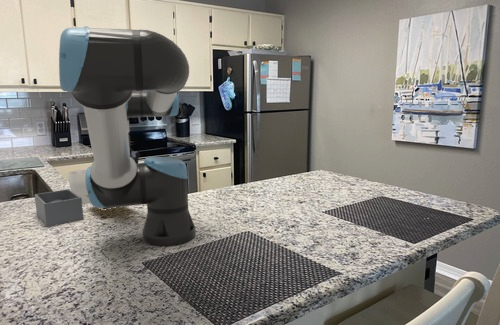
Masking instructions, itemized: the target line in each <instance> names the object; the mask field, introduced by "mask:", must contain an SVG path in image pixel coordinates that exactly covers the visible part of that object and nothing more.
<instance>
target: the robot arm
mask: <svg viewBox="0 0 500 325" xmlns="http://www.w3.org/2000/svg"><path fill="white" fill-rule="evenodd" d="M58 73H59V74H58V75H59V78H58V79H59V87H60V89H61V91H63V92H67V93H71V94H72V97H73V100H74V101H76V102H77V104H78V105H80V106H81V107H82V108H83V112H84V117H85V122H86V126H87V127H86V128H87V132H88V136H89V137H88V138H89V141H90V142H89V143H90V145H91V147H90V148H91V151H92V157H93V162H92V163H91V166H88V167H87V168H86V169H85V170H86V174H85V182H86V189H87V194H88V198H89V200H90V202H89V203H90V204H91V205H92V206H93V207H95V208H97V209H110V208H122V207H130V206H131V207H132V206H141V205H143V206H144V205H146V206H147V214H146V218H145V221H144V225H143V228H142V240H143V241H144V243H146V244H148V245H152V246H161V247H165V246H166V247H167V246H168V247H169V246H175V245H176V246H177V245H182V244H183V243H187V242H189V241H191V240H193V239H194V238H195V236H196V225H195V224H194V220H193V219H192V216H191V212H190V210H189V195H188V193H189V192H188V178H189V176H188V170H187V169H188V168H187V165H186V162H184V161H183V160H181V159H177V158H172V157H164V156H148V157H145V159H144V160H143V161H144V162H141V163H139V158H140V155H141V153H140V152H138V151H134V150H133V149H132V147H131V135H130V134H129V133H130V119H129V118H145V117H146V118H147V117H149V118H151V117H153V118H154V117H156V118H157V117H159V118H160V117H165V118H167V117H168V118H169V117H176V116H177V115H178V114H179V109H180V108H179V105H180V104H179V103H180V102H179V95H178V94H177V93H178V92H180V91H181V90H183V88H184V87H185V85H186V84H187V82H188V80H189V77H190V66H189V61H188V59H187V57H186V54H185V53H184V52H183V51H182V49H181V48H180V46H178V45H177V44H176V43H175V42H174V41H173V40H172V39H170V38H168V37H166V36H165V35H163V34H161V33H159V32H156V31H152V30H149V29H129V28H128V29H126V28H125V29H123V28H118V29H117V28H98V27H97V28H96V27H95V28H92V27H89V26H84V27H67V28H65V29H64V30H63V31H62V32H61V34H60V39H59V50H58Z"/></svg>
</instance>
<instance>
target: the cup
mask: <svg viewBox="0 0 500 325" xmlns="http://www.w3.org/2000/svg"><path fill="white" fill-rule="evenodd" d="M86 170H87V169H84V170H83V169H82V170H74V171H69V172H68V184H69V187H70V190H71V191H73V192H74V193H75V194H77V195H78V196H80V197H81V198H82V205H83V204H89V203H91V202H90V200H89V198H88V197H87V196H86V194H85V193H87V189H86V182H85V174H86Z"/></svg>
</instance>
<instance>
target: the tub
mask: <svg viewBox="0 0 500 325" xmlns="http://www.w3.org/2000/svg"><path fill="white" fill-rule="evenodd" d="M52 200H62V201H57V202H51V203H50V201H52ZM34 202H35V209H36V211H35V212H36V217H38V218H39V220H40V221H41V222H42V224H43V225H44V226H45V227H46V228H49V227H53V226H54V227H55V226H58V225H64V224H69V223H73V222H78V221H82V220H84V210H83V208H84V207H83V204H82V198H81V197H80V196H78V195H77V194H75V193H74V192H73V191H71V188H70V189H69V188H68V189H61V190H55V191H47V192H41V193H35V194H34Z"/></svg>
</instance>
